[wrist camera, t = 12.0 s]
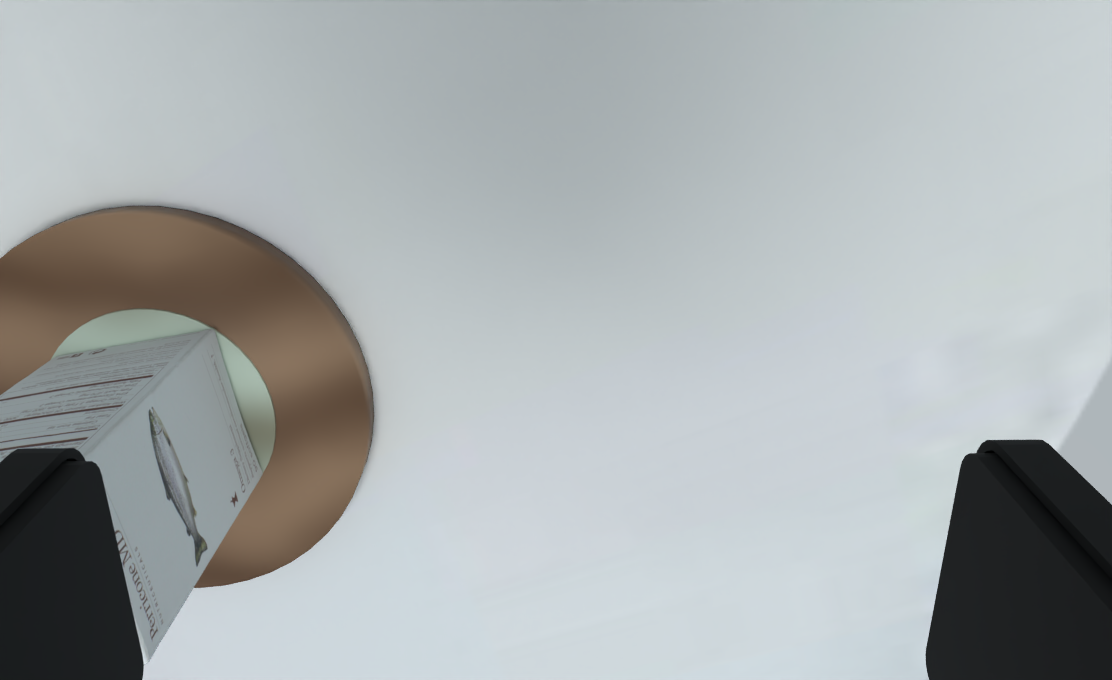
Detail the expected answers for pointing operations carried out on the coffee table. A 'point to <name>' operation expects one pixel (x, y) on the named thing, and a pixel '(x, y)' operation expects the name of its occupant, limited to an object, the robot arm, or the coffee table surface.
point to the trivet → (245, 343)
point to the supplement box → (147, 455)
